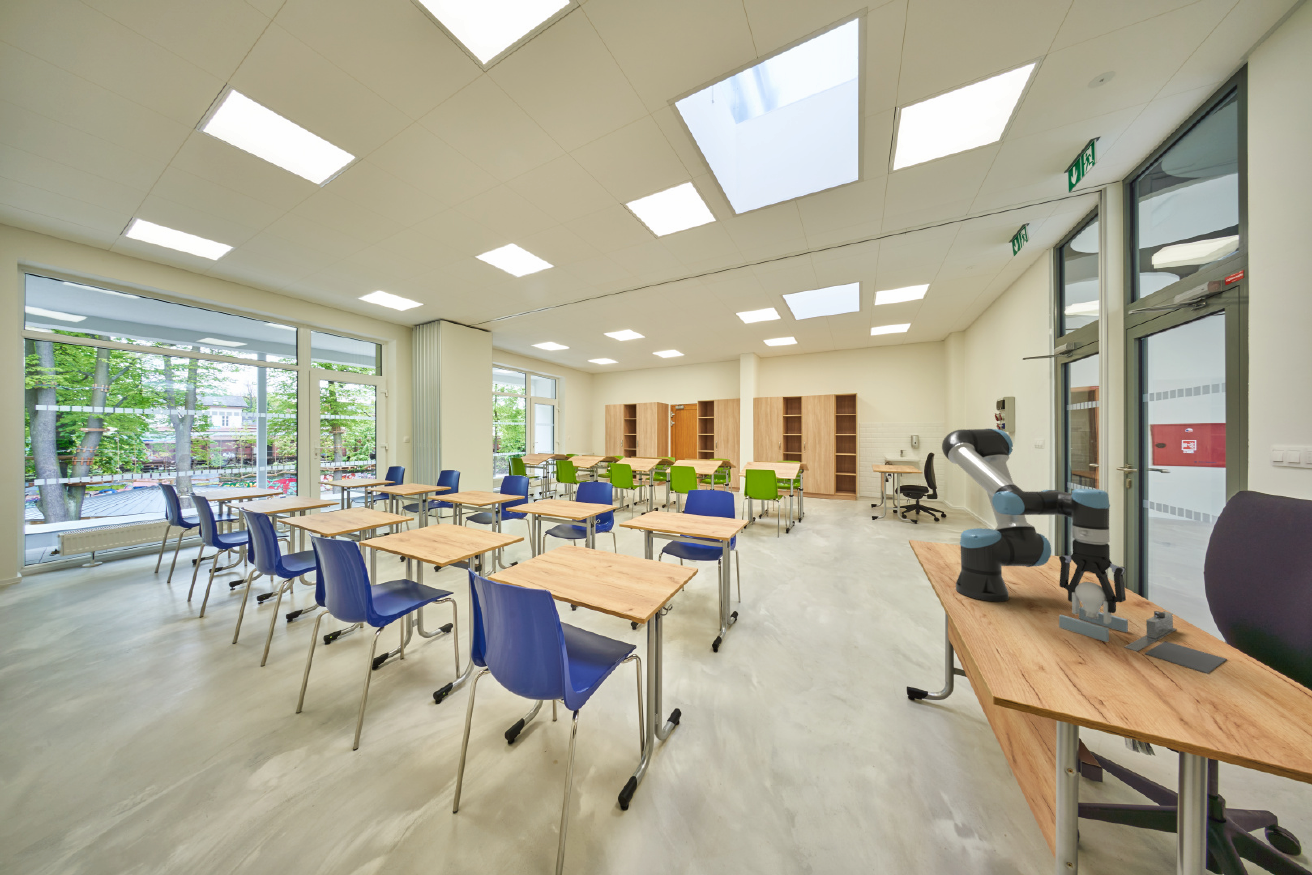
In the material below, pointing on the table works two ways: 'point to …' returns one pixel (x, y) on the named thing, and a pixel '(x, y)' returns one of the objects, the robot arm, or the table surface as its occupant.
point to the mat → (1186, 657)
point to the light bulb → (1090, 598)
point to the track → (1145, 641)
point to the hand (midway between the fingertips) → (1091, 617)
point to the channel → (1093, 625)
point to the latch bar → (1159, 624)
